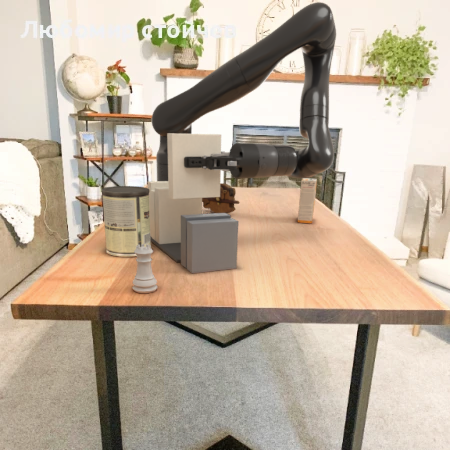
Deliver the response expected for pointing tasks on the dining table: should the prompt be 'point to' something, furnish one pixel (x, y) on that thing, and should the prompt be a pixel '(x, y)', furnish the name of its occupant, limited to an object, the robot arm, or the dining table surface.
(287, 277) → the dining table surface
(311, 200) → the supplement box
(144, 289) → the rook chess piece
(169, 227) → the white books
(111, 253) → the coffee can
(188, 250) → the grey books
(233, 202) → the wooden carving
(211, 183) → the white book
